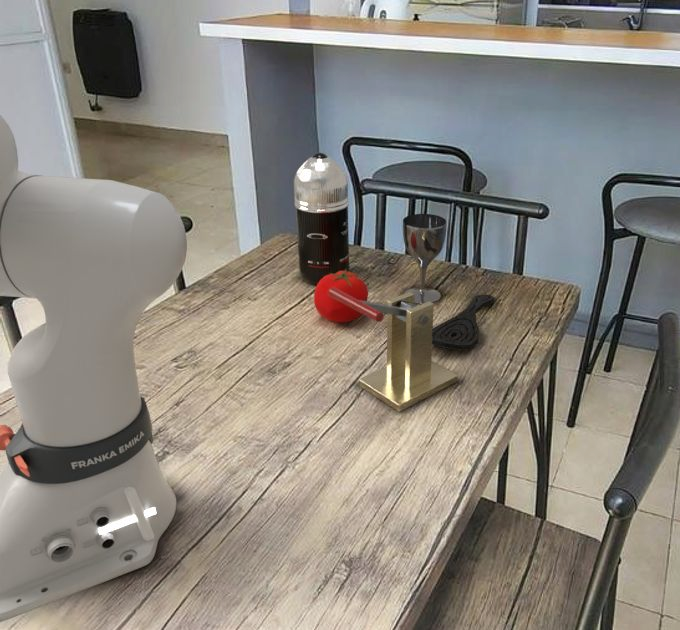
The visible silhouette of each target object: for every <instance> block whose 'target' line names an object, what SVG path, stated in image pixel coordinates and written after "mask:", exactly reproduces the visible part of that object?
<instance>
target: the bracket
mask: <svg viewBox="0 0 680 630" xmlns="http://www.w3.org/2000/svg"><path fill="white" fill-rule="evenodd" d="M386 302H387V304H386V305H390V306H396V307H400V305H401V302H406V303H411V304H415V303H414V294H413V293H411V292H409V293H406V294H404V293H403V294H400V295H398V296H396V297H393V298H390V299H388V300H387V301H386ZM434 306H435V304H434V302H433V303H432V302H429V301H428V302H426V303H423V304H419V305H417V306H416V307H413V308H411V309H408V310H407V312H406V322H404V321H402V320H400V319H398V318H397V317H396V316H397V315H392V314H386V366H385V367H382V368H381V369H379V370H376V371H374V372H371V373H370V374H368V375H366V376H362V377H361V378H359V379H358V386H359V387H360V388H361V389H363V390H364V391H366V392H367V393H369V394H370V395H372V396H374V397H376V398H377V399H378V400H380V401H381V402H383V403H385V404H386V405H388V406H389V407H391V408H392V409H394V410H395V411H397V412H399V413H400V412H402V411H404V410H406V409H408V408H409V407H412V406H413V405H416V404H418V403H419V402H422V401H423V400H425V399H427V398H429V397H431V396H433V395H435V394H436V393H438V392H440V391H443V390H444V389H446V388H448V387H450V386H452V385H454V384H456V383H458V379H459V378H458V377H459V376H458V374H456V373H454V372H453V371H451V370H449V369H448V368H445V367H443V366H442V365H440V364H438V363H437V362H435V361H433V360H432V357H433V355H432V354H433V352H432V351H433V344H432V333H433V328H434V327H433V326H434Z"/></svg>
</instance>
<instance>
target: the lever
mask: <svg viewBox="0 0 680 630" xmlns="http://www.w3.org/2000/svg"><path fill="white" fill-rule="evenodd" d="M328 294H329V296H330V297H332V298H334V299H336V300H338V301H340V302H342V303H343V304H345V305H347V306H349V307H351V308H353V309H354V310H356V311H358V312H360V313H362V314H361V315H364V316H365V317H367V318H369V319H371V320H373V321H375V322H376V323H380V322H382V321H383V320H384V316H385V315H384V314H386V315H387V314H392V315H397V316H396V317H397V318H398V319H400V320H402V321H404V322H406V312H407V310H408V309H411V308H413V307H416V306H418V305H417V304H416V303H414V304H411V303H406V302H401V305H400V307H396V306H390V305H387V304H384V303H379V302H373V301H367V302H366V301H361V300H357V299H355V298H353V297H351V296H350V295H348V294H346V293H344V292H342V291H340V290H338V289H336V288H334V287H332V288H330V289H329V291H328Z"/></svg>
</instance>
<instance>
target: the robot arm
mask: <svg viewBox="0 0 680 630" xmlns="http://www.w3.org/2000/svg"><path fill="white" fill-rule="evenodd" d="M187 252H188V237H187V232H186V228H185V224H184V221H183V220H182V218H181V215H180V213H179V212H178V210H177V209H176V207H175V206H174V205H173V203H172V202H171V201H170V199H169V198H168V197H167V196H166V195H164V194H163V193H161V192H157V191H153V190H150V189H146V188H143V187H140V186H137V185H132V184H128V183H125V182H121V181H117V180H114V179H104V178H103V179H101V178H100V179H99V178H85V177H84V178H83V177H67V176H51V175H42V174H32V173H27V172H23V171H20V170H19V154H18V148H17V142H16V139H15V135H14V133H13V131H12V129H11V127H10V125H9V123H7V121H6V120H5V118H4V117H3V116H1V115H0V297H14V298H26V299H36V300H37V301H38V302H39V303H40V305H41V307H42V309H43V311H44V315H45V316H44V317H45V322H44V323H43V324H40V325H39V326H37V327H35V328H33V329H32V330H30V331H29V332H27V333H26V334H25V335H24V336H22V338H21V339H19V341H18V342H17V343H16V345H15V346H14V348H13V350H12V352H11V354H10V356H9V360H8V363H7V376H8V378H9V382H10V386H11V390H12V392H13V396H14V400H15V402H16V406H17V410H18V414H19V416H20V417H19V418H20V419H21V425H20V427H19V428H18V429H17V431H16V433H14V430H13V429H12V427H11V426H8V425H6V424H1V425H0V451H5V454H6V458H7V462H8V463H7V464H6V465H5V466H4V467H3V468H2V469H1V470H0V623H3V622H5V621H8V620H10V619H13V618H15V617H18V616H21V615H23V614H26V613H29V612H31V611H33V610H37V609H39V608H42V607H43V606H47V605H49V604H51V603H54V602H56V601H59V600H61V599H65V598H67V597H69V596H72V595H74V594H77V593H79V592H82V591H85V590H87V589H90V588H92V587H95V586H98V585H100V584H103V583H105V582H108V581H110V580H113V579H115V578H118V577H120V576H121V577H122V576H123V575H125V574H129V573H131V572H133V571H136V570H139V569H141V568H144V567H146V566H147V565H149V564H150V563H151V562H152V561H153V560H154V558H155V555H156V553H157V552H156V551H157V549H158V548H157V547H158V543H159V541H160V539H161V537H162V535H163V534H164V533H165V531H167V529H168V528H169V526H170V525H171V523H172V521H173V519H174V517H175V515H176V511H177V497H176V494H175V492H174V490H173V488H172V487H171V486H170V484H169V483H168V481H167V479H166V477H165V475H164V473H163V471H162V469H161V467H160V464H159V461H158V459H157V455H156V453H155V451H154V447H153V443H154V436H153V423H152V419H151V415H150V410H149V408H148V405H147V401H146V400H145V397H143V396H141V392H140V386H139V382H138V375H137V374H138V373H137V366H136V358H135V348H134V347H135V346H134V345H135V344H134V343H135V334H136V330H137V326H138V323H139V321H140V318H141V317H142V315H143V313H144V312H145V310H146V309H147V308H148V307H149V306H150V305H151V304H152V303H153V302H155V300H157V299H158V298H160V297H161V296H163V295H164V294H165V293H166V292H167V291H168V290H170V288H171V287H172V286H173V285H174V284H175V282H176V281H177V279H178V278H179V276H180V274H181V272H182V270H183V268H184V265H185V262H186V258H187Z"/></svg>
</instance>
